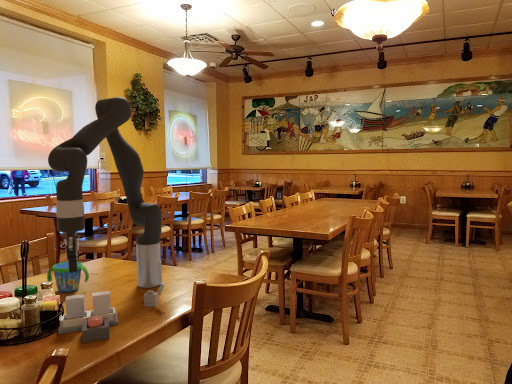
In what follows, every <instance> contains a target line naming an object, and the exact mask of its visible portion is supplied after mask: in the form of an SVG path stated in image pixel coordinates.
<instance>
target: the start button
mask: <svg viewBox="0 0 512 384" xmlns="http://www.w3.org/2000/svg"><path fill="white" fill-rule="evenodd" d="M100 326H103V317H102V316H94V317H91V318H89V319H88V328H93V327H100Z"/></svg>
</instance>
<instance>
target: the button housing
mask: <svg viewBox="0 0 512 384" xmlns="http://www.w3.org/2000/svg"><path fill="white" fill-rule="evenodd" d="M81 338H82V339H81V340H82V344H85V343H92V342H97V341H103V340H109V339H110V326H109V320H108V318H103V326H100V327H93V328H88V321H83V325H82V330H81Z"/></svg>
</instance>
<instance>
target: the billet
mask: <svg viewBox="0 0 512 384" xmlns="http://www.w3.org/2000/svg"><path fill="white" fill-rule="evenodd" d="M85 304H86V302H85V294H83V293H82V294H75V295H74V294H73V295H67V296H65V314H66V319H67V320H70V319H76V318H83V317H85V311H86V305H85Z"/></svg>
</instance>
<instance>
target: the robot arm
mask: <svg viewBox="0 0 512 384" xmlns="http://www.w3.org/2000/svg"><path fill="white" fill-rule="evenodd" d="M94 109H95V110H94V111H95V115H96V118H97V119H95V120H92V121H91V122H89V123H88V124H86V125H84V126H83V127H81V129H79V130H78V131H77V132H76V133H75V134H74V135H73V136H72V137H71V138H70V139H67V140H65V141H63V142H61V143H59V144H58V145H57V146H55V147H54V148H52V149H51V151H50V153H49V154H48V156H47V163H48V165H49V167H50V168H51V169H52V171H55V172H59V173H60V172H63V173H64V172H68V175H67V177H66V179H61V180H58V181H57V182H56V185H55V189H56V190H55V191H56V192H55V193H56V194H55V196H56V206H55V207H56V208H55V211H56V230H57V232H59V233H65V234H66V236H64V237H63V243H64V245H65V246H64V248H65V253H66V260H67V261H68V262H69V272H77V262H78V258H79V255H78V254H79V249H80V247H79V246H80V245H79V244H80V243H79V242H80V235H77V232H81V231H84V230H85V229H86V223H85V220H86V219H85V205H84V200H83V199H84V197H83V183H84V180H85V175H86V171H87V167H88V156H89V155H91V154H92V153H93V152H94V150H95V149H96V148H97V147H98V146H99V145H100V144H101V143H102V142H103V140H105V139H106V141H107V143H108V146H109V148H110V152H111V154H112V157H113V158H112V159H113V161H114V164H115V167H116V171H117V173H118V176H119V178H120V181H121V184H122V187H123V191H124V194H125V197H126V203H127V206H128V211H129V216H130V218H131V221H132V223H134V224H135V225H137V226H139V227H144V229H143V230H144V231H143V233H141V234H139V235H137V236H136V237H135V245H136V246H135V249H136V251H135V252H136V273H137V274H136V276H137V278H136V280H137V287H139V288H143V289H144V288H146V289H149V288H154V287H158V286H159V287H160V285H161V283H162V282H163V272H162V270H163V269H162V260H161V236H162V229H163V228H162V227H163V224H162V221H163V220H162V219H163V216H162V208H161V207H160V205H158V204H157V203H149V202H145V200H144V198H143V196H142V195H143V194H142V189H141V188H142V183H143V178H144V172H145V171H144V166H143V163H142V161H141V157H140V154H139V153H138V152H137V150H136V149H135V148H134V147H133V146H132V145H131V143H129V142H128V141H127V140H126V139H125V138H124V137H123V136H122V134H121V132H120V130H119V127H121V126H122V125H124V124H125V123H126V122H128V121H129V120H130V119H131V117H132V106H131V105H130V102H129V101H128V99H127V98H125V97H121V96H115V97H109V98H103V99H98V100H97V101H96V103H95V107H94Z"/></svg>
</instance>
